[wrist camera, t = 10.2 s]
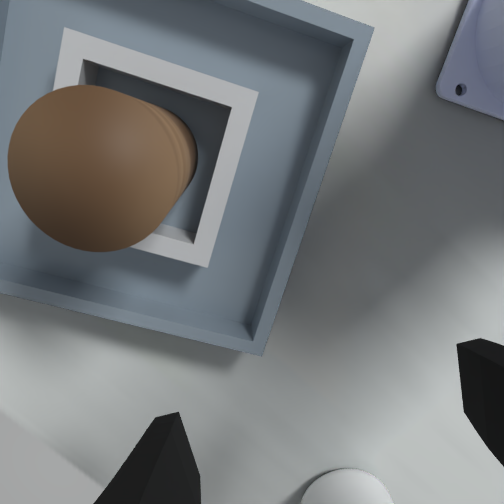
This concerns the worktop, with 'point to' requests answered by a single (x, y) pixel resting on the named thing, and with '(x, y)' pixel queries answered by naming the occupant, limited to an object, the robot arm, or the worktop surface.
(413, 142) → the worktop surface
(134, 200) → the walnut peg
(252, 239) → the candle dish
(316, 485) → the drinking glass
